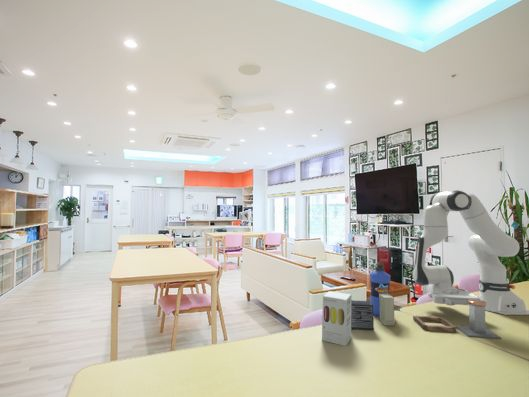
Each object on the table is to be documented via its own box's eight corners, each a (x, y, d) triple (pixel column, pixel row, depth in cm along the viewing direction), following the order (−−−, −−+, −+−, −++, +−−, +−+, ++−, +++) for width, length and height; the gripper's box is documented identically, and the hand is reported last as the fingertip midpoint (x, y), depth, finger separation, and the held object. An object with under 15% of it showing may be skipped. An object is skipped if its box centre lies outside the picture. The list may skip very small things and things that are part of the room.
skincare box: (394, 326, 127) (394, 297, 128) (384, 325, 127) (384, 297, 128) (388, 320, 134) (388, 293, 134) (379, 320, 134) (379, 293, 134)
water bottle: (393, 317, 138) (393, 264, 139) (373, 317, 138) (373, 263, 139) (385, 311, 147) (385, 260, 148) (367, 310, 147) (367, 260, 148)
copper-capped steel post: (481, 328, 124) (480, 299, 125) (490, 334, 118) (490, 304, 119) (464, 327, 125) (464, 298, 126) (473, 333, 119) (472, 303, 120)
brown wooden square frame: (442, 321, 134) (442, 317, 134) (457, 332, 121) (457, 328, 121) (412, 319, 136) (412, 315, 136) (423, 330, 123) (423, 325, 123)
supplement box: (321, 340, 111) (321, 295, 112) (327, 332, 119) (328, 290, 120) (346, 346, 107) (346, 299, 107) (351, 337, 115) (351, 293, 116)
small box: (370, 324, 128) (370, 300, 129) (374, 330, 122) (374, 305, 122) (345, 323, 129) (345, 299, 130) (348, 329, 123) (348, 303, 123)
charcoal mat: (485, 329, 126) (485, 327, 126) (501, 338, 116) (501, 337, 116) (455, 326, 127) (455, 325, 127) (468, 336, 118) (468, 335, 118)
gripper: (426, 288, 148) (439, 295, 134) (470, 290, 145) (487, 298, 131) (426, 300, 147) (439, 309, 134) (470, 303, 145) (488, 312, 131)
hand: (463, 304), depth 132 cm, fingers open, 8 cm apart
